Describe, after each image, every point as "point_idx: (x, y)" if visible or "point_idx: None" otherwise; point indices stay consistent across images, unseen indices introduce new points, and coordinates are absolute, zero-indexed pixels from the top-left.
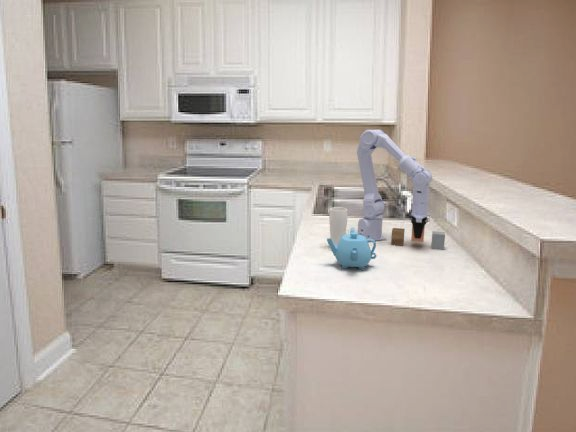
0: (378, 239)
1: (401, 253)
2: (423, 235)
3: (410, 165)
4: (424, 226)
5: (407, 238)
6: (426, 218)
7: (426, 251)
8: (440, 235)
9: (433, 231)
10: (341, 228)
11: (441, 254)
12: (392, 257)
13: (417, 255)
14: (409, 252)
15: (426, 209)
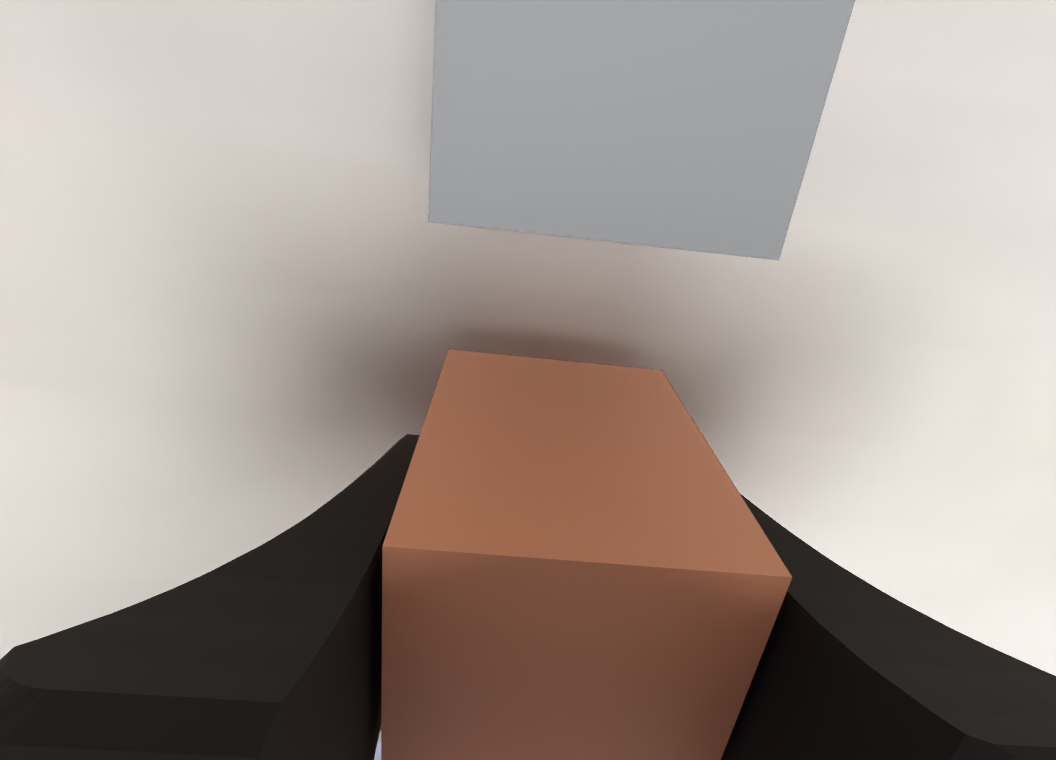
0: None
1: (896, 584)
2: (698, 439)
3: None
4: (719, 577)
5: (168, 499)
6: (273, 742)
7: (809, 297)
8: (835, 2)
9: (483, 197)
10: None
11: (982, 64)
12: (1032, 658)
13: (993, 429)
14: (858, 508)
15: None
